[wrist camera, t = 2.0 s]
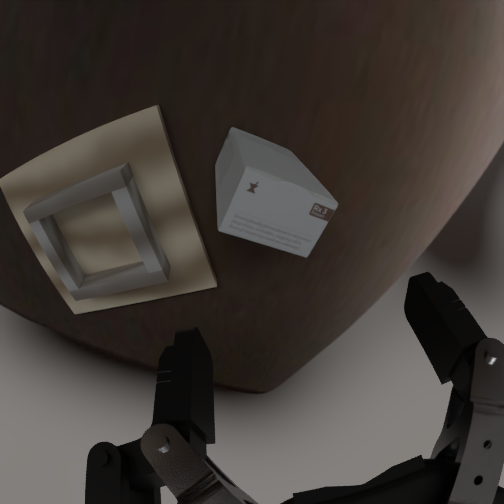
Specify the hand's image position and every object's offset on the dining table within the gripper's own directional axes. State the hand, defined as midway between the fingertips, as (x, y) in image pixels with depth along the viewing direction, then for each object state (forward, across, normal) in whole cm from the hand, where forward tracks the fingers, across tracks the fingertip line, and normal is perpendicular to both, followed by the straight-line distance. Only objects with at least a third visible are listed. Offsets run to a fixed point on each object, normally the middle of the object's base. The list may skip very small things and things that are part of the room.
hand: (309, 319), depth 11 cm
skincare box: (+20, 0, 0) cm, 20 cm away
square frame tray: (+19, +17, +3) cm, 26 cm away
